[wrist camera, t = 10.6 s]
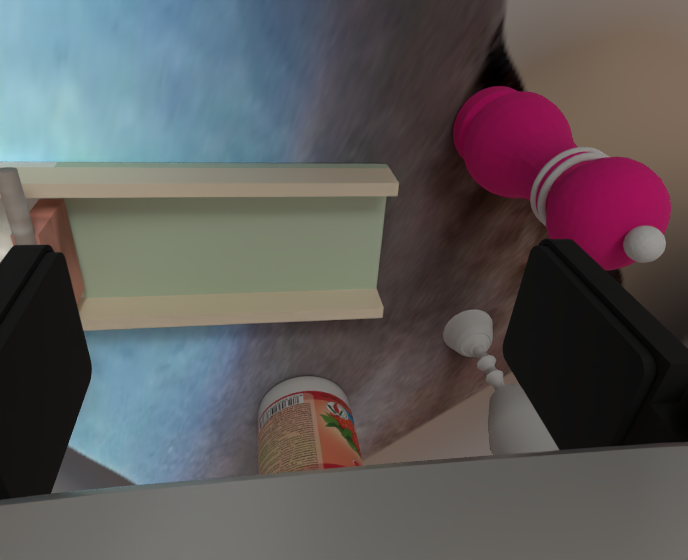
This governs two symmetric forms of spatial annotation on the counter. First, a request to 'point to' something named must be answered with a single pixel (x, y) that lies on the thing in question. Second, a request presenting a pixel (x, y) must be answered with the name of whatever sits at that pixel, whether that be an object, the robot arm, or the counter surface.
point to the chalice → (498, 390)
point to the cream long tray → (219, 239)
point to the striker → (40, 224)
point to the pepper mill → (562, 177)
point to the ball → (5, 243)
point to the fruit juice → (306, 427)
